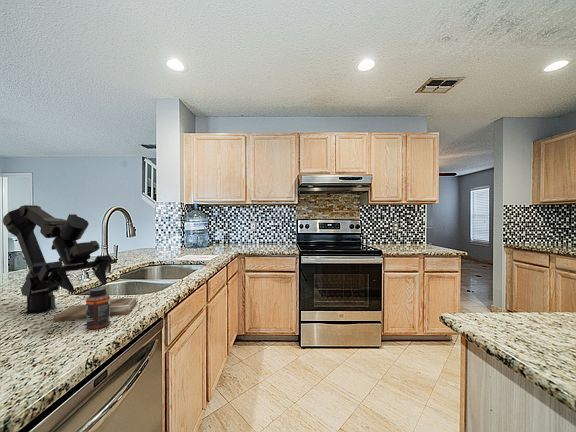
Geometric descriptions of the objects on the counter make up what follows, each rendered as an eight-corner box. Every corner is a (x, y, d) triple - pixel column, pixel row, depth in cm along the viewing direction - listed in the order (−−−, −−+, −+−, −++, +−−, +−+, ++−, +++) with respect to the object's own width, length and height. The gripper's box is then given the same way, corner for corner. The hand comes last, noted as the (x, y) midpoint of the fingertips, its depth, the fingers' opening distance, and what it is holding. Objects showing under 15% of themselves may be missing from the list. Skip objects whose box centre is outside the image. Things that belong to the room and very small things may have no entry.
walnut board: (53, 321, 87) (53, 312, 87) (71, 309, 98) (71, 301, 98) (128, 314, 93) (128, 306, 93) (136, 303, 104) (136, 296, 104)
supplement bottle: (114, 322, 86) (114, 286, 86) (100, 330, 80) (99, 291, 80) (97, 321, 87) (96, 285, 87) (81, 329, 81) (80, 291, 81)
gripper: (43, 235, 79) (65, 277, 74) (109, 231, 96) (130, 265, 91) (29, 261, 82) (49, 302, 78) (95, 253, 99) (115, 286, 94)
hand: (90, 287), depth 85 cm, fingers open, 9 cm apart
